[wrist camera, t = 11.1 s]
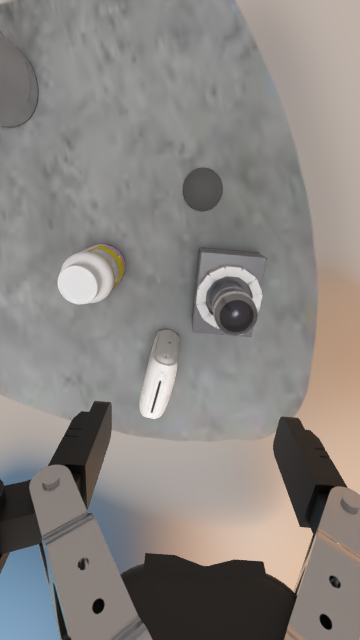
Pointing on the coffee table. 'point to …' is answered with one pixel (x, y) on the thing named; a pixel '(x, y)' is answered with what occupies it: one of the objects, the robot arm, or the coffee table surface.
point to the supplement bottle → (91, 274)
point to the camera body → (218, 268)
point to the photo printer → (160, 374)
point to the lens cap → (202, 189)
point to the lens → (232, 308)
